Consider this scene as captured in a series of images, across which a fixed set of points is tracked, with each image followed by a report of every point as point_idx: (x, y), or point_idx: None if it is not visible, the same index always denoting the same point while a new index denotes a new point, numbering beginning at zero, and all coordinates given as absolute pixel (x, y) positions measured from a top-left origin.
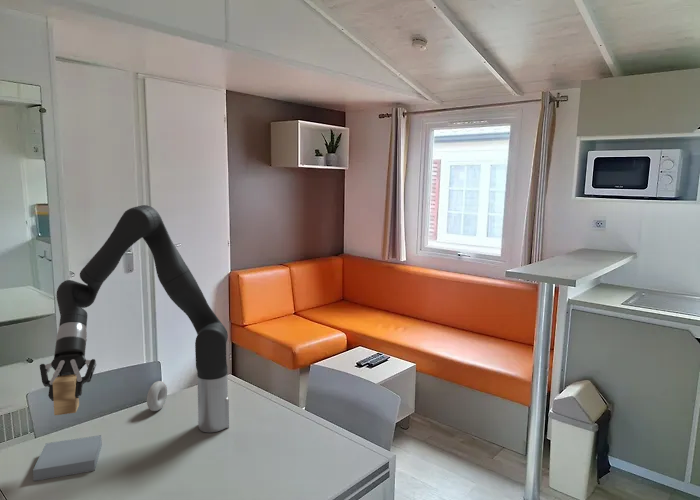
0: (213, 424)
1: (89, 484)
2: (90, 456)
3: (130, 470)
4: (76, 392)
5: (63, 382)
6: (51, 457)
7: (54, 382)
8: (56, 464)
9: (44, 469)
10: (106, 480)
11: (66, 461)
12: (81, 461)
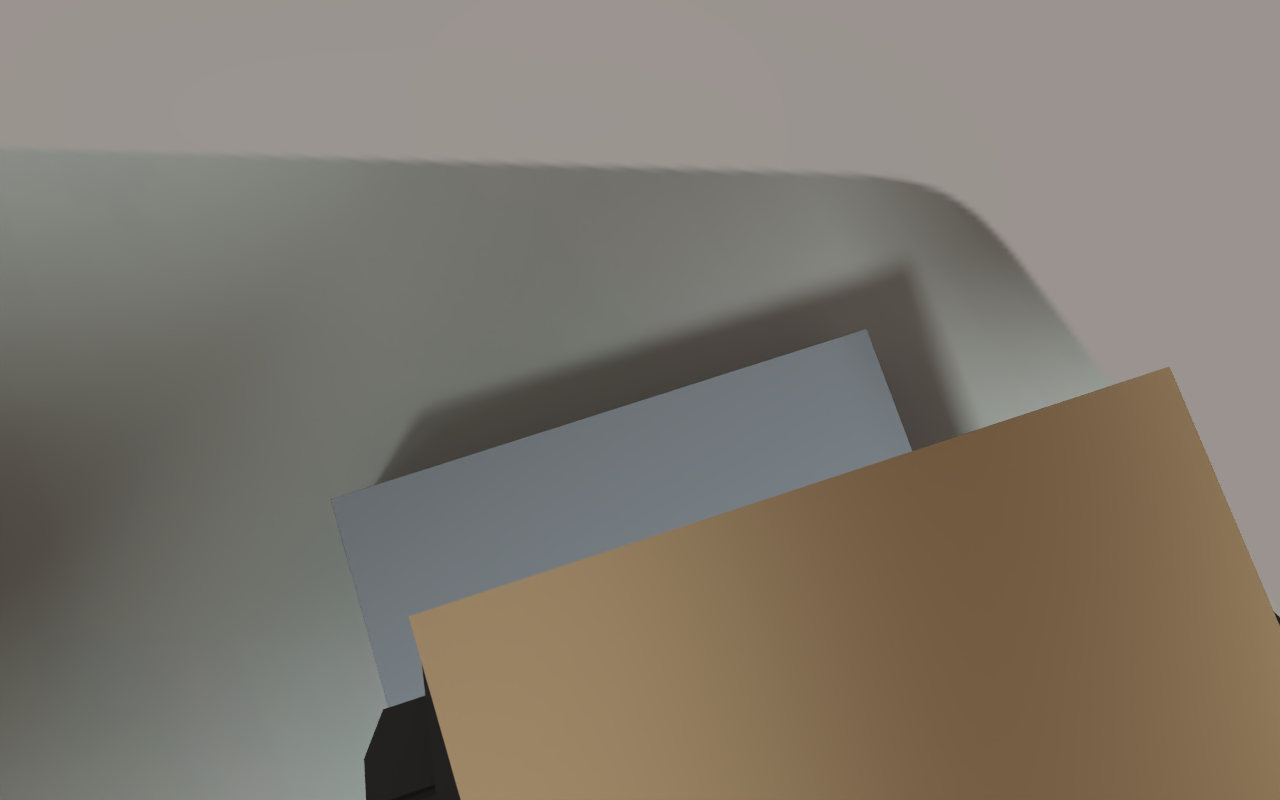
0: None
1: (311, 293)
2: (403, 570)
3: (6, 507)
4: None
5: (795, 490)
6: None
7: (1132, 428)
8: (687, 421)
9: (769, 360)
10: (181, 349)
11: (615, 478)
12: (455, 473)
